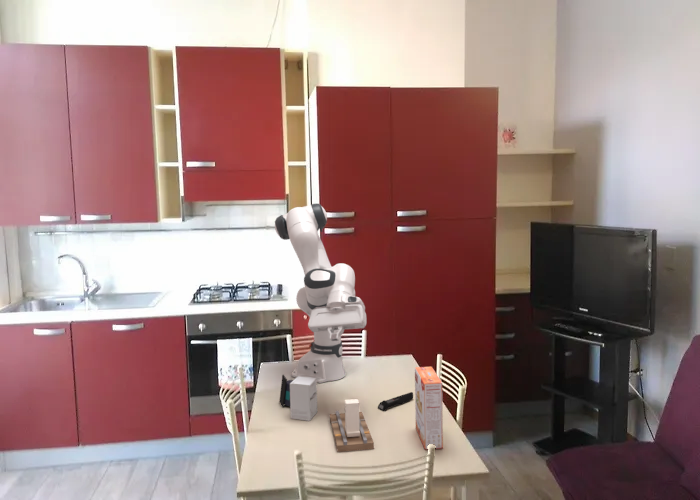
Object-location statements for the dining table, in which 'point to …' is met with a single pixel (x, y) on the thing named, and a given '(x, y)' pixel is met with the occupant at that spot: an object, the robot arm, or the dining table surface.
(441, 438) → the cracker box
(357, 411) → the switch tab
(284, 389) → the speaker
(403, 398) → the electric trimmer
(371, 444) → the switch track
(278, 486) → the dining table surface
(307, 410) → the supplement box
